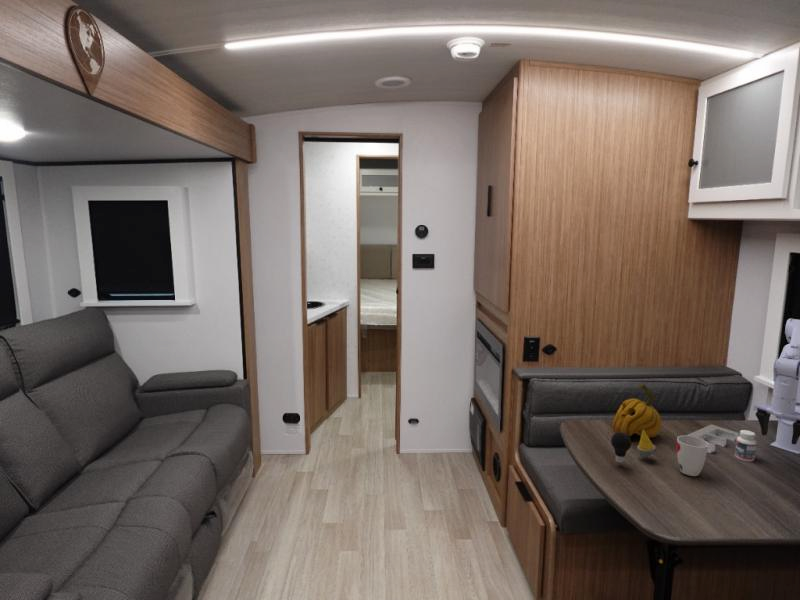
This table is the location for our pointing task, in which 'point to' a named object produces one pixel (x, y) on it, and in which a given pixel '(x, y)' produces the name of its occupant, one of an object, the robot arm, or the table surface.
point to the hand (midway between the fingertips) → (778, 438)
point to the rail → (714, 436)
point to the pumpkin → (637, 416)
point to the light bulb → (620, 445)
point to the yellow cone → (645, 445)
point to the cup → (691, 454)
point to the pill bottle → (745, 446)
